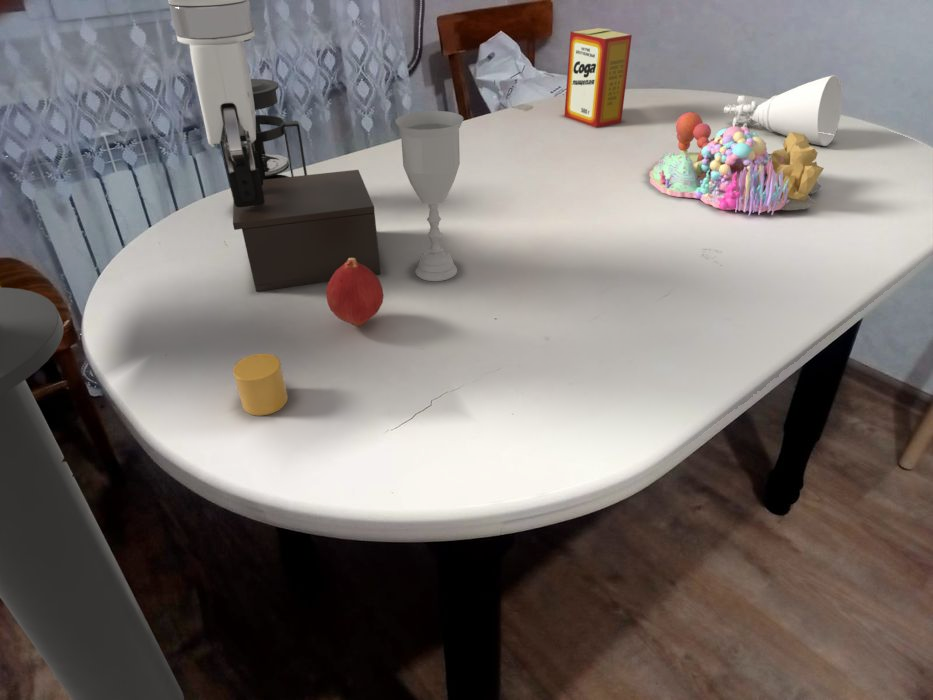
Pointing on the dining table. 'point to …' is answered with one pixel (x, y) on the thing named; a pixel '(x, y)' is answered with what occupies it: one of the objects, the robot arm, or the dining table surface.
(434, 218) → the chalice
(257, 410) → the pod
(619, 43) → the baking soda box
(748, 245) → the dining table surface
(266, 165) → the french press
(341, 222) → the dark brown wooden crate
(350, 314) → the red fruit
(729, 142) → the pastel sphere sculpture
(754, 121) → the rocket engine
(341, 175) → the wooden box lid
